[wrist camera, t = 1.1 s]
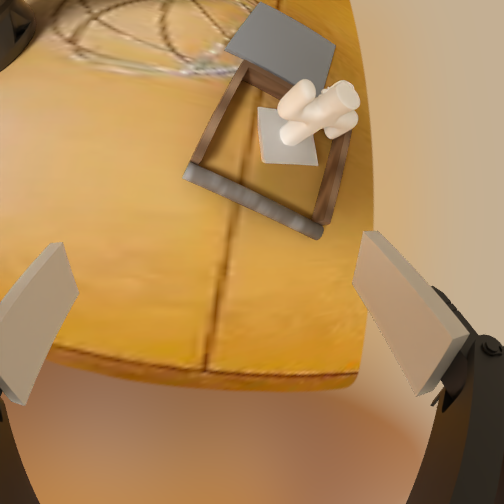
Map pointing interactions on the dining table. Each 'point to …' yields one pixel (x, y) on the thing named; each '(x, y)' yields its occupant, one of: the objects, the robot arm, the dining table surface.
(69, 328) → the dining table surface
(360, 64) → the dining table surface
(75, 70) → the dining table surface
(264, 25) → the slate pad
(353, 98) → the figurine
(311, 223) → the walnut holder
